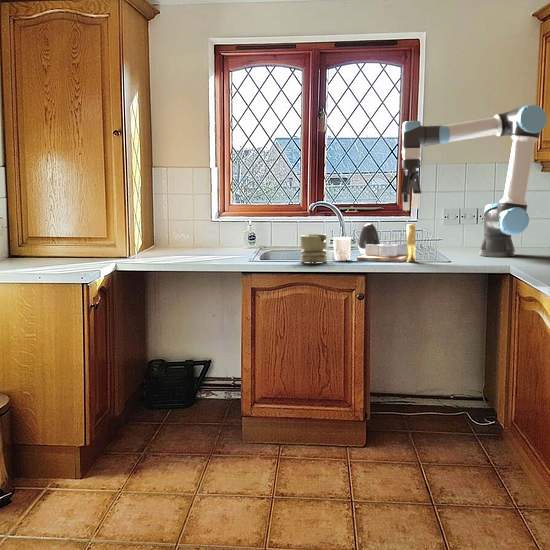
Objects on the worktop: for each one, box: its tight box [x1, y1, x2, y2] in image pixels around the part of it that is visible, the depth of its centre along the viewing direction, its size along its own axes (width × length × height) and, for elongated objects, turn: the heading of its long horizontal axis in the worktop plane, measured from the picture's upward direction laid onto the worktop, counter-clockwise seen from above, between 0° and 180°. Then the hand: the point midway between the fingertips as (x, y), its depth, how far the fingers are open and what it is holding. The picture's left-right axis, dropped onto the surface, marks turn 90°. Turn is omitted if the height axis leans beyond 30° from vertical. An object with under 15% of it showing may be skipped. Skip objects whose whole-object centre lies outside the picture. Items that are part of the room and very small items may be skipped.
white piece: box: [366, 243, 407, 257], centre depth 287 cm, size 18×12×5 cm, turn 62°
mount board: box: [356, 254, 407, 263], centre depth 287 cm, size 20×16×2 cm
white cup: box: [332, 236, 352, 262], centre depth 287 cm, size 8×8×10 cm
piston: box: [300, 233, 328, 263], centre depth 282 cm, size 11×12×11 cm
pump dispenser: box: [357, 222, 381, 255], centre depth 303 cm, size 10×10×15 cm
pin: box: [406, 223, 417, 263], centre depth 274 cm, size 4×4×16 cm
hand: (410, 209), depth 272 cm, fingers open, 13 cm apart
